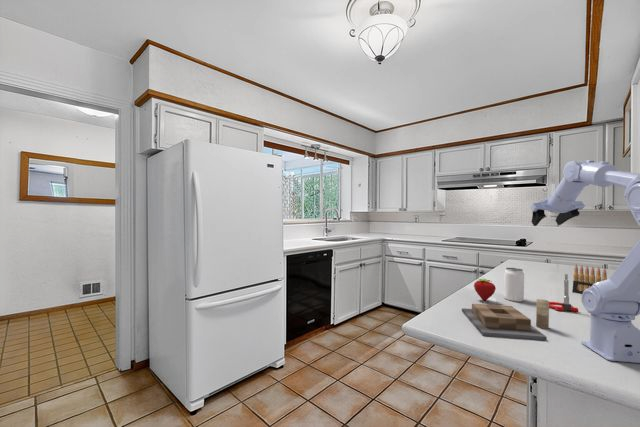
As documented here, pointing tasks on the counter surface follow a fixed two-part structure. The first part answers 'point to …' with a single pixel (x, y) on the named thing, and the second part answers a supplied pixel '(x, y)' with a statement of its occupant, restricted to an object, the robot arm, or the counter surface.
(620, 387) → the counter surface
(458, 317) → the counter surface
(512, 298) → the can
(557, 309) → the tow hook
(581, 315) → the counter surface
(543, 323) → the peg
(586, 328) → the counter surface
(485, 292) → the strawberry
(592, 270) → the ammunition clip
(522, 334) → the holder
